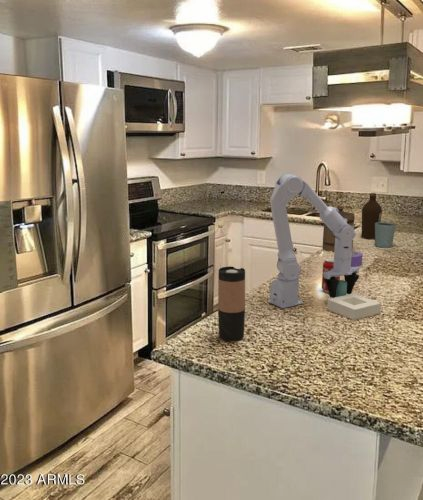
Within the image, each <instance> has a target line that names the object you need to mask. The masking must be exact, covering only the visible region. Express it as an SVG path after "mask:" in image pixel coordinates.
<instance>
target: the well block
mask: <svg viewBox="0 0 423 500" xmlns="http://www.w3.org/2000/svg"><path fill="white" fill-rule="evenodd" d="M326 303H327V304H326V310H328V311H331V312H333V313H336V314H338V315H340V316H342V317H345V318H348V319H350V320H352V321H356V320H357V321H358V320H362V319H364V318H369V317H372V316H376V315H380V314H381V309H382V302H379V301H377V300H374V299H371V298H368V297H365V296H361V295H359V294H356V293H353V292H352V293H351V294H346V295H344V296H340V297H335V298H331V297H330V298H327V302H326Z"/></svg>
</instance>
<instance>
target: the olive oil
mask: <svg viewBox="0 0 423 500" xmlns="http://www.w3.org/2000/svg"><path fill="white" fill-rule="evenodd" d="M361 208H362V209H361V236H360V237H361V238H362V239H365V240H375V223H377V222H382V216H383V215H382V213H383V209H382V206H381V205H380V203H378V201H377V193H375V192H370V193H369V200H368V201H367V202H366V203H365V204H364V205H363V206H362V207H361Z"/></svg>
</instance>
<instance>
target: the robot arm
mask: <svg viewBox="0 0 423 500" xmlns="http://www.w3.org/2000/svg"><path fill="white" fill-rule="evenodd" d="M274 184H275V185H274V189H273V191H272V193H271V197H270V198H269V203H270V211H271V216H272V221H273V226H274V235H275V238H276V244H277V250H278V252H277V261H276V269H277V270H278V272H279V273H278V274H277V278H276V279H274V280H272V281H271V282H270V284H269V300H268V303H270V304H272V305H275V306H276V307H278V308H281V309H285V308H290V307H294V306H298V305H303V304H304V301H302V300H299V286H300V276H301V274H302V268H301V267H302V266H300V264H299V262H298V260H297V256H296V254H295V252H294V246H293V240H292V234H291V227H290V224H289V223H290V222H289V217H288V212H287V211H288V210H287V204H288V203H289V202H290V201H291V199H292V198H294V197H296V196H297V195H298V196H300V197H304V198H305V199H306V200H307V201H308V202H309V204H311V205H312V206H313V207H314V208H315V210H317V211H318V213H319V219H320V221H322V222H323V224H324V223H325V224H326V225H327V226H328V228H329V229H330V230H331V231H333V235H334V236H336V237H337V238H336V237H335V250H334V252H333V258H334V268H333V269H332V270H330V271H328V272H324V281H325V282H326V285H327V287H328V291H329V293H328V296H329V298H330V299H331V298H335V297H336V290H337V286H338V283H339V280H336V278H335V277H338V276H340V277H342V276H343V277H344V281H347V294H346V295H348V294H353V290H354V287H355V285H356V283H357V281H358V279H360V274H359V271H360V268H359V267H351V254H352V251H353V248H352V240H353V241H354V239H355V238H356V235H357V234H356V233H357V232H355V227H354V228H353V227H352V226H351V225H349V224H347V219H344V218H343V217H342V216H341V215H340V214H339V213H338V211H339V210H338V209H337V207H334V206H328V205H327V204H326V203H325V202H324V201H323V200H322V198H321V197H320V196H319V195H318V194H317V192H315V190H314V189H313V188H312V187H311V185H309V184H308V182H307V181H305V180H303V179H302V178H301V176H299V175H297V174H296V175H294V174H292V173H290V172H289V173H288V172H286V173H283V174H282V175H281V176H279V178H277V180H275V183H274ZM338 238H339V239H338Z"/></svg>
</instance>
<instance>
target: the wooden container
mask: <svg viewBox="0 0 423 500" xmlns="http://www.w3.org/2000/svg"><path fill="white" fill-rule="evenodd" d="M336 208H337V209H338V210H339V211H338V213H339V214H340V215H341V216H342V217H343V218H344V219H347V224H349V225H351V226H352V227H353V228H354V229H355V217H356V215H355V213H352V212H346V211H344V206H342V205H338V206H336ZM322 231H323V234H322V249H323V250H324V251H326V250H327V252H331V251H332V252H333V253H334V250H335V237H336V236H334V235H333V231H331V230H330V229H329V228H328V226H327V225H326V224H325V223H324V222H323V230H322ZM336 238H337V237H336ZM338 239H339V238H338ZM353 243H354V239H353V240H352V249H353V248H354V247H353V245H354V244H353Z"/></svg>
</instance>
